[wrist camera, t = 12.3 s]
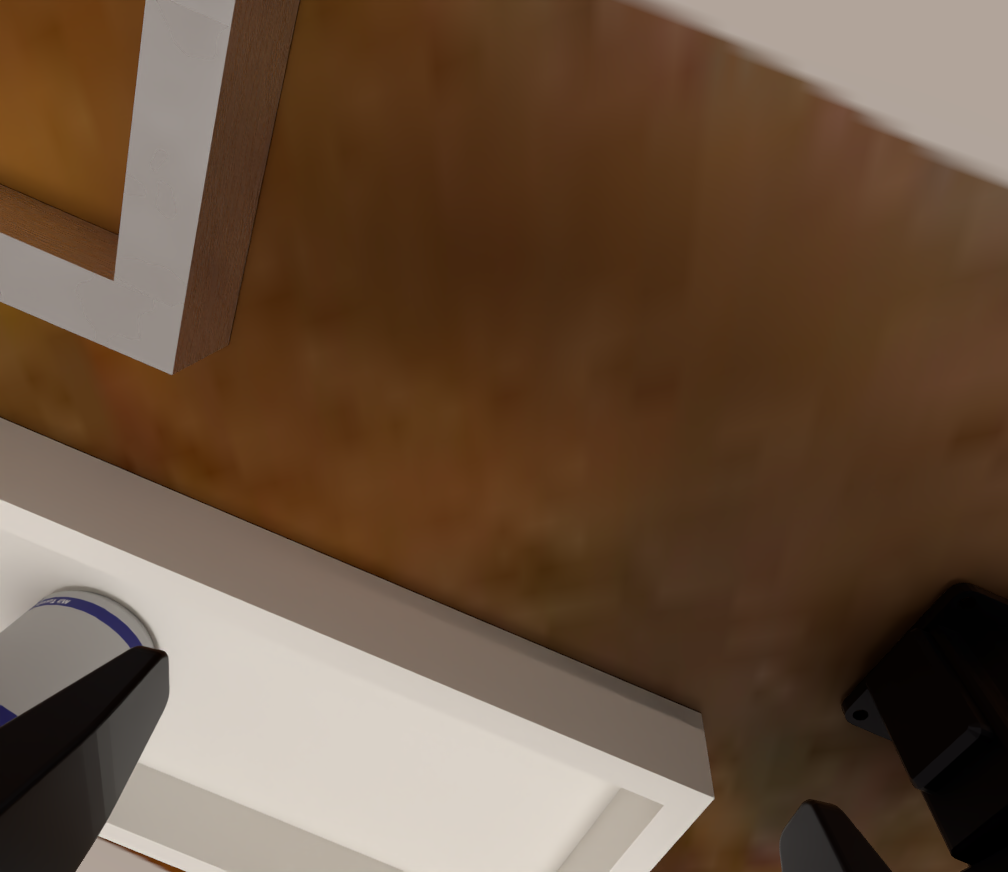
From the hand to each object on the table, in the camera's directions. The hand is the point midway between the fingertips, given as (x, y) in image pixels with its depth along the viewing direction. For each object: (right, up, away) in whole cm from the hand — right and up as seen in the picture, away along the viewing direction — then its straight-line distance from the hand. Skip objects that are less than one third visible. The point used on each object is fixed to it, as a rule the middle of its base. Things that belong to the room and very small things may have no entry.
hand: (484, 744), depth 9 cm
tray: (-9, -7, +19) cm, 22 cm away
